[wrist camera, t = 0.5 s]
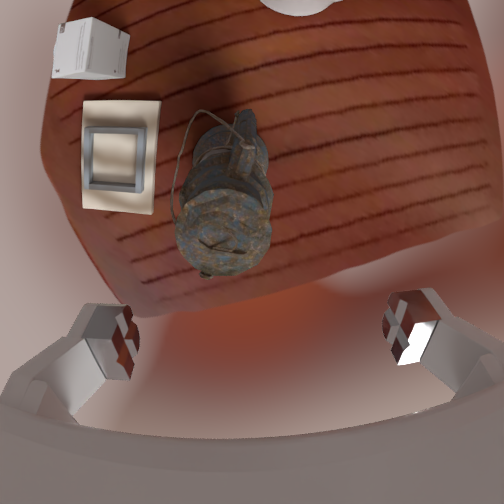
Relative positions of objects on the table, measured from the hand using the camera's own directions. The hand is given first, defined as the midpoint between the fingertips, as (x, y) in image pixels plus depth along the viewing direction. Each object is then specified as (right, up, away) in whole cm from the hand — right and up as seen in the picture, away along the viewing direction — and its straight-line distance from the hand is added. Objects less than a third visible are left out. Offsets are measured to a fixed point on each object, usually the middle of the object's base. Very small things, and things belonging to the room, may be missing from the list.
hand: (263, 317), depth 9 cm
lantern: (-5, +18, +41) cm, 45 cm away
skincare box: (-24, +35, +31) cm, 52 cm away
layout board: (-24, +19, +40) cm, 50 cm away
